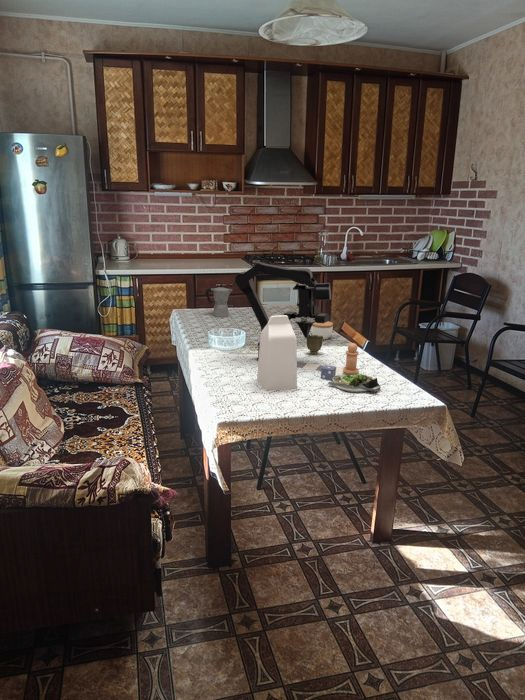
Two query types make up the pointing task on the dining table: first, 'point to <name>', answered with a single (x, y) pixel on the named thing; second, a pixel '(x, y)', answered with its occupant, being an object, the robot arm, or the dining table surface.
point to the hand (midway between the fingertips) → (306, 337)
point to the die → (328, 372)
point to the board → (317, 367)
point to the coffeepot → (219, 300)
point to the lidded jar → (322, 329)
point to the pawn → (351, 360)
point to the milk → (277, 355)
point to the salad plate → (355, 383)
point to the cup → (314, 343)
